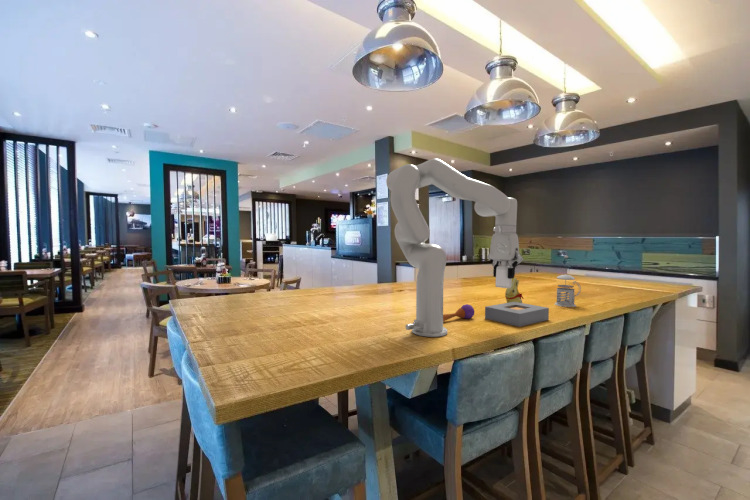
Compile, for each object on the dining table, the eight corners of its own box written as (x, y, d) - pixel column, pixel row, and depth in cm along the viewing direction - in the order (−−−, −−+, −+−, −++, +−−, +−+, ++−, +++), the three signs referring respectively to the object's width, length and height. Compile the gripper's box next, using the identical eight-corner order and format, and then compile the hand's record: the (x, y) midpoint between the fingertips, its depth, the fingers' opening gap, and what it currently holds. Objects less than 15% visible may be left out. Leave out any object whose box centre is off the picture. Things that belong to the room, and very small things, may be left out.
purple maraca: (430, 312, 138) (465, 303, 149) (432, 326, 138) (468, 317, 148) (440, 312, 133) (476, 303, 143) (442, 327, 133) (478, 317, 143)
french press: (559, 302, 180) (560, 254, 179) (583, 305, 171) (584, 255, 170) (550, 304, 174) (551, 255, 173) (575, 308, 165) (577, 256, 164)
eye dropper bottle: (504, 288, 128) (506, 256, 128) (493, 286, 133) (495, 255, 133) (513, 288, 130) (514, 256, 129) (502, 286, 135) (503, 255, 135)
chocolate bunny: (501, 308, 163) (501, 277, 162) (515, 306, 169) (516, 276, 168) (514, 311, 157) (514, 279, 157) (528, 308, 163) (529, 277, 163)
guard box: (519, 326, 130) (519, 313, 130) (484, 318, 144) (485, 306, 143) (548, 319, 141) (548, 307, 141) (514, 312, 155) (514, 301, 154)
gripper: (480, 230, 136) (479, 275, 136) (520, 229, 122) (518, 280, 122) (492, 230, 140) (490, 275, 141) (532, 230, 126) (530, 279, 126)
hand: (503, 277), depth 131 cm, fingers closed on eye dropper bottle, 5 cm apart
